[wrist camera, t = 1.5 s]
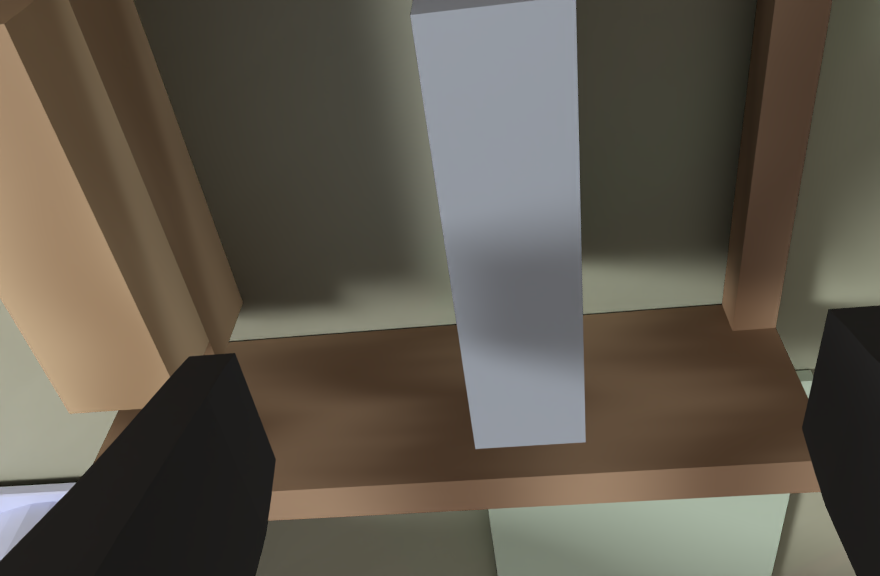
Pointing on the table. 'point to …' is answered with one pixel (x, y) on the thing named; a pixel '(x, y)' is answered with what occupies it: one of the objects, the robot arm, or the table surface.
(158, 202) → the offcut
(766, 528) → the mat
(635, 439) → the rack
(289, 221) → the table surface
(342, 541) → the table surface
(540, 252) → the grey rectangular box
